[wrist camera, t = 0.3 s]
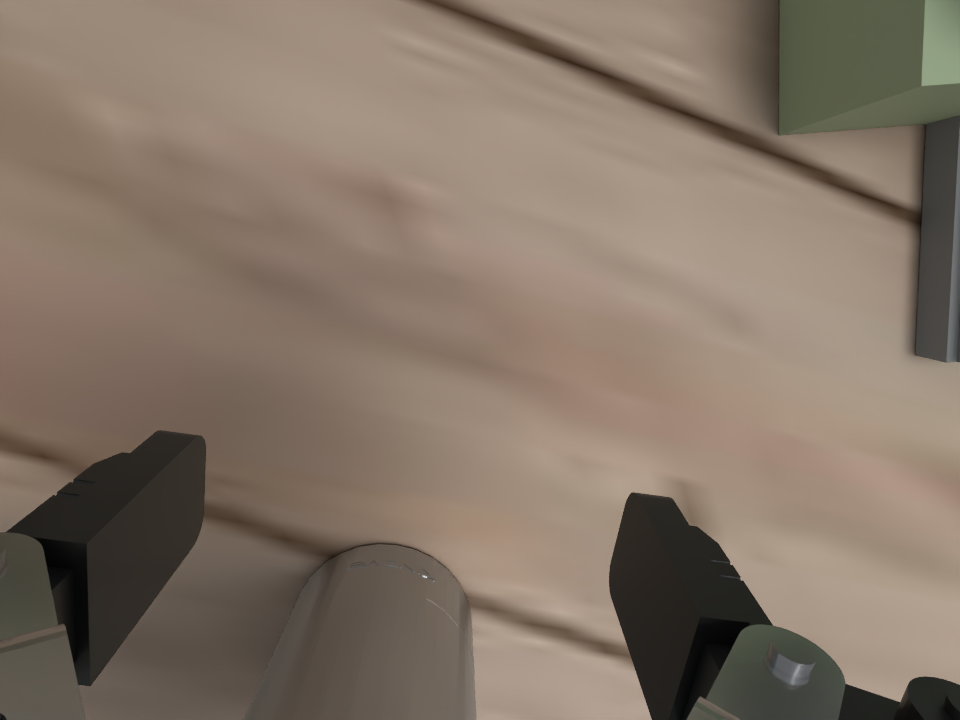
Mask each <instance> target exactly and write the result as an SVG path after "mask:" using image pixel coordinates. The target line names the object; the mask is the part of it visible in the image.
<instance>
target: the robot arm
mask: <svg viewBox="0 0 960 720" xmlns="http://www.w3.org/2000/svg"><path fill="white" fill-rule="evenodd" d="M205 463H206V444H205V440H204V438H203V437H202V436H199V435H192V434H184V433H177V432H169V431H161V430H159V431H157V432H155V433H154V434H153V435H152V436H150V437H149V438H148V439H147V440H146V441H144V442H143V443H142V444H141V445H140V446H138V447H137V448H136V449H135V450H134V451H132V452H131V453H123V452H122V453H119V454H117V455H114V456H112V457H109V458H107V459H104V460H102V461H99V462H97V463H94V464H93V465H91V466H90V467H89V468H88V469H86V470H85V471H84V472H82V473H81V474H80V475H79V476H77V477H76V478H75V479H74V481H73V483H72V482H70V483H68V484H67V485H66V486H65V487H63V488H62V489H61V490H59V491H58V492H57V495H56V496H55V495H53V496H52V497H50V498H49V499H48V500H47V501H45V502H44V503H43V504H41V505H40V506H39V507H38V508H36V509H35V510H34V511H32V512H31V513H30V514H29V515H27V516H26V517H25V518H23V519H22V520H21V521H20V522H18V523H17V524H16V525H14V526H13V527H12V528H11V529H9V530H8V531H7V532H5V533H2V532H0V720H85V716H84V711H83V706H82V701H81V697H80V692H79V687H78V685H85V686H91V685H92V683H93V682H94V681H95V679H96V678H97V677H98V675H99V674H100V673H101V671H102V670H103V668H104V667H105V666H106V664H107V663H108V662H109V660H110V659H111V658H112V656H113V655H114V654H115V652H116V651H117V649H118V648H119V647H120V645H121V644H122V643H123V641H124V640H125V639H126V637H127V636H128V634H129V633H130V632H131V630H132V629H133V628H134V626H135V625H136V624H137V622H138V621H139V620H140V618H141V617H142V615H143V614H144V613H145V611H146V610H147V609H148V607H149V606H150V605H151V603H152V602H153V600H154V599H155V598H156V596H157V595H158V594H159V592H160V591H161V590H162V588H163V587H164V586H165V584H166V583H167V581H168V580H169V579H170V577H171V576H172V575H173V573H174V572H175V571H176V569H177V568H178V566H179V565H180V564H181V562H182V561H183V560H184V558H185V557H186V556H187V554H188V553H189V552H190V550H191V549H192V547H193V546H194V544H195V542H196V540H197V538H198V535H199V533H200V529H201V526H202V521H203V515H204V493H205ZM609 587H610V594H611V598H612V601H613V604H614V607H615V610H616V613H617V616H618V619H619V622H620V625H621V628H622V631H623V634H624V637H625V640H626V643H627V646H628V649H629V652H630V655H631V658H632V661H633V664H634V667H635V670H636V673H637V676H638V679H639V682H640V685H641V688H642V691H643V694H644V697H645V700H646V703H647V706H648V709H649V712H650V715H651V718H652V720H960V685H958V684H956V683H953V682H950V681H947V680H944V679H939V678H935V677H918V678H914V679H913V680H911V681H910V682H909V684H908V686H907V688H906V691H905V693H904V695H903V698H902V700H901V702H897V701H894V700H891V699H888V698H885V697H882V696H880V695H877V694H874V693H871V692H868V691H865V690H862V689H859V688H856V687H853V686H850V685H848V684H845V679H844V675H843V673H842V671H841V669H840V668H839V667H838V665H837V664H836V662H835V661H834V660H833V659H832V658H831V657H830V656H829V655H828V654H827V653H826V652H825V651H824V650H822V649H821V648H820V647H818V646H817V645H816V644H814V643H812V642H811V641H809V640H808V639H806V638H804V637H802V636H800V635H798V634H796V633H794V632H792V631H789V630H786V629H783V628H780V627H776V626H773V625H772V623H771V622H770V620H769V619H768V617H767V616H766V614H765V613H764V611H763V610H762V608H761V607H760V605H759V604H758V602H757V601H756V599H755V598H754V596H753V595H752V593H751V592H750V590H749V589H748V587H747V586H746V584H745V583H744V581H740V575H739V574H738V572H737V571H736V569H735V568H734V566H733V565H730V561H729V559H728V558H727V556H726V555H725V553H724V552H723V550H722V549H721V547H720V546H719V544H718V543H717V542H716V541H714V540H713V539H712V538H711V537H709V536H708V535H707V534H706V533H704V532H703V531H702V530H701V529H699V528H698V527H696V526H689V524H688V522H687V521H686V519H685V518H684V516H683V514H682V513H681V511H680V510H679V508H678V506H677V505H676V503H675V502H674V500H673V499H672V498H670V497H663V496H656V495H648V494H641V493H631V494H630V495H629V497H628V499H627V501H626V504H625V508H624V512H623V516H622V520H621V524H620V528H619V532H618V536H617V540H616V544H615V548H614V552H613V556H612V560H611V565H610V573H609ZM244 720H476V701H475V680H474V656H473V638H472V620H471V612H470V608H469V604H468V601H467V598H466V596H465V594H464V592H463V590H462V588H461V586H460V584H459V582H458V581H457V580H456V579H455V578H454V577H453V575H452V574H451V573H450V572H449V571H448V569H446V568H445V567H444V566H442V565H441V564H440V563H439V562H437V561H436V560H435V559H433V558H432V557H430V556H427V555H425V554H423V553H421V552H419V551H417V550H414V549H410V548H406V547H402V546H398V545H384V544H376V545H369V546H362V547H357V548H354V549H352V550H349V551H346V552H343V553H341V554H339V555H337V556H336V557H334V558H332V559H331V560H329V561H327V562H326V563H324V564H323V565H322V566H321V567H320V568H319V569H318V570H317V571H316V572H315V573H314V574H313V575H312V576H311V577H310V579H309V580H308V581H307V583H306V584H305V586H304V587H303V589H302V590H301V593H300V595H299V597H298V599H297V602H296V604H295V606H294V608H293V611H292V613H291V615H290V617H289V620H288V622H287V624H286V626H285V629H284V631H283V633H282V635H281V637H280V639H279V641H278V643H277V646H276V648H275V650H274V652H273V655H272V657H271V659H270V661H269V664H268V666H267V668H266V670H265V673H264V675H263V677H262V679H261V682H260V684H259V686H258V688H257V691H256V693H255V695H254V697H253V700H252V702H251V704H250V707H249V709H248V711H247V713H246V716H245V718H244Z"/></svg>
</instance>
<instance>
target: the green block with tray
mask: <svg viewBox="0 0 960 720" xmlns="http://www.w3.org/2000/svg"><path fill="white" fill-rule="evenodd" d="M920 124H926V137H925V159H924V180H923V202H922V224H921V245H920V267H919V288H918V310H917V332H916V353H915V355H916V356H921V357H925V358H929V359H933V360H938V361H942V362H946V363H947V362H960V0H780V22H779V135H789V134H802V133H815V132H828V131H841V130H854V129H867V128H880V127H894V126H907V125H920Z"/></svg>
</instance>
